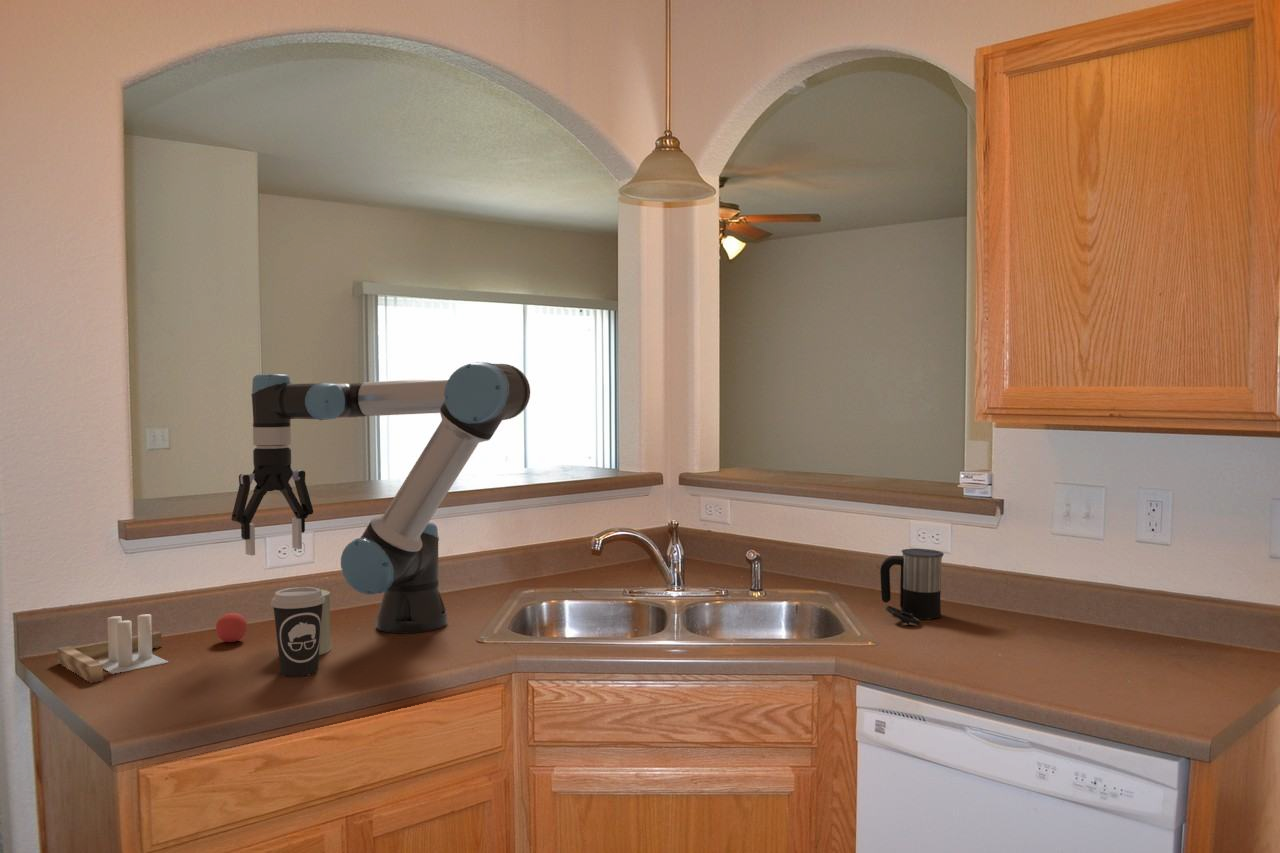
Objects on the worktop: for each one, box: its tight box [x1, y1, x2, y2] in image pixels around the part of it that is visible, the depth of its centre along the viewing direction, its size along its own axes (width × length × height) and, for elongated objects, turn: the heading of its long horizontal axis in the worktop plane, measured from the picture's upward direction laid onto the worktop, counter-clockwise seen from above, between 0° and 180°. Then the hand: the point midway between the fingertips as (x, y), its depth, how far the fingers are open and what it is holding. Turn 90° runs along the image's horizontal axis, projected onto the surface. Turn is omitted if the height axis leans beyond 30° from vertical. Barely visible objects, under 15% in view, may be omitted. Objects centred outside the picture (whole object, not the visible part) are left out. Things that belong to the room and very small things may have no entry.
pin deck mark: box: [96, 652, 169, 675], centre depth 185 cm, size 12×10×1 cm
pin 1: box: [107, 615, 123, 662], centre depth 186 cm, size 2×2×8 cm
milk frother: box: [879, 548, 945, 625], centre depth 218 cm, size 14×16×15 cm
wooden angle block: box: [57, 630, 163, 684], centre depth 185 cm, size 18×18×3 cm
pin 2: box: [117, 619, 133, 667], centre depth 182 cm, size 2×2×8 cm
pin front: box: [136, 613, 153, 660], centre depth 187 cm, size 2×2×8 cm
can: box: [319, 589, 332, 656], centre depth 193 cm, size 9×9×12 cm
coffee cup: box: [270, 586, 325, 677], centre depth 179 cm, size 10×10×15 cm
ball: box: [215, 612, 248, 643], centre depth 200 cm, size 6×6×6 cm
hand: (274, 551), depth 206 cm, fingers open, 10 cm apart
